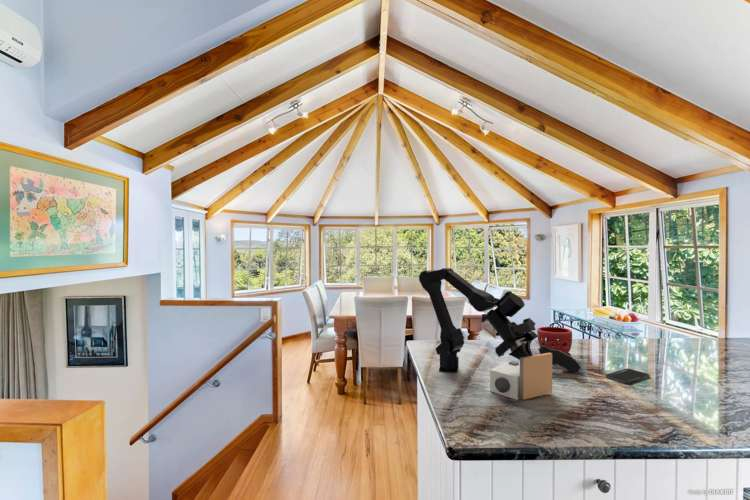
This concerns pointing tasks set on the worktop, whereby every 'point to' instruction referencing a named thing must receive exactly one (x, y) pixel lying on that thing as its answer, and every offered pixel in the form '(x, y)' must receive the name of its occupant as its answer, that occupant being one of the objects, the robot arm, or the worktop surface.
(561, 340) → the plant pot
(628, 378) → the phone
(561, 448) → the worktop surface
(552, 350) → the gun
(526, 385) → the tan flat square panel
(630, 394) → the worktop surface
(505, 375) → the white box
